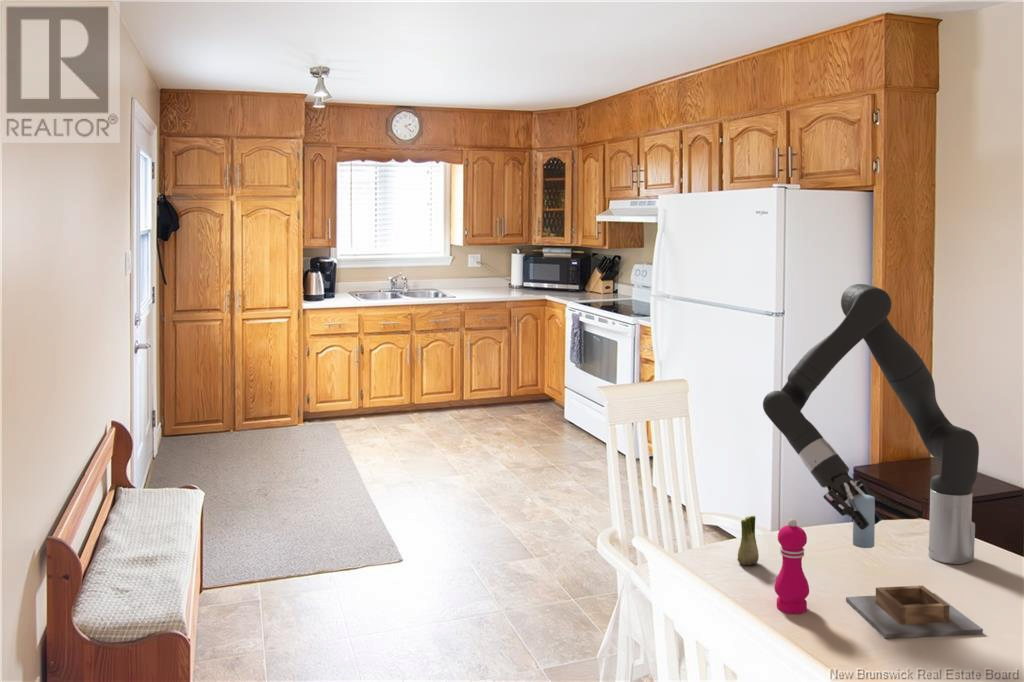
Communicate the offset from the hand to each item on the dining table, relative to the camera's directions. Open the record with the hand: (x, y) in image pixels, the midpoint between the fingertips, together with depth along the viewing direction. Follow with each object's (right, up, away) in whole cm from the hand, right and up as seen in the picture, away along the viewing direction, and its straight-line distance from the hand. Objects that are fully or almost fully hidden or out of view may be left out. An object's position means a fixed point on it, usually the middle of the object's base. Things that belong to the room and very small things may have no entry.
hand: (871, 524), depth 190 cm
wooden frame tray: (+4, -17, -11) cm, 21 cm away
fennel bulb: (-22, -15, +21) cm, 34 cm away
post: (-1, -5, +2) cm, 6 cm away
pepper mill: (-19, -17, -5) cm, 27 cm away
